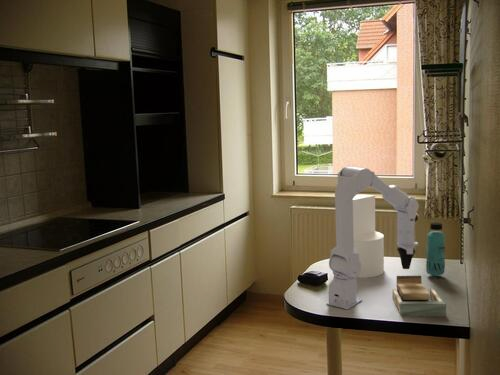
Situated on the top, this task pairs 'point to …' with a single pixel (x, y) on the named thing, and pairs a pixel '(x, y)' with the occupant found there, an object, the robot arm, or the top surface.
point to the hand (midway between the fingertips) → (405, 268)
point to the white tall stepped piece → (367, 236)
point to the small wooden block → (411, 288)
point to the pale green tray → (421, 306)
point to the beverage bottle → (435, 250)
